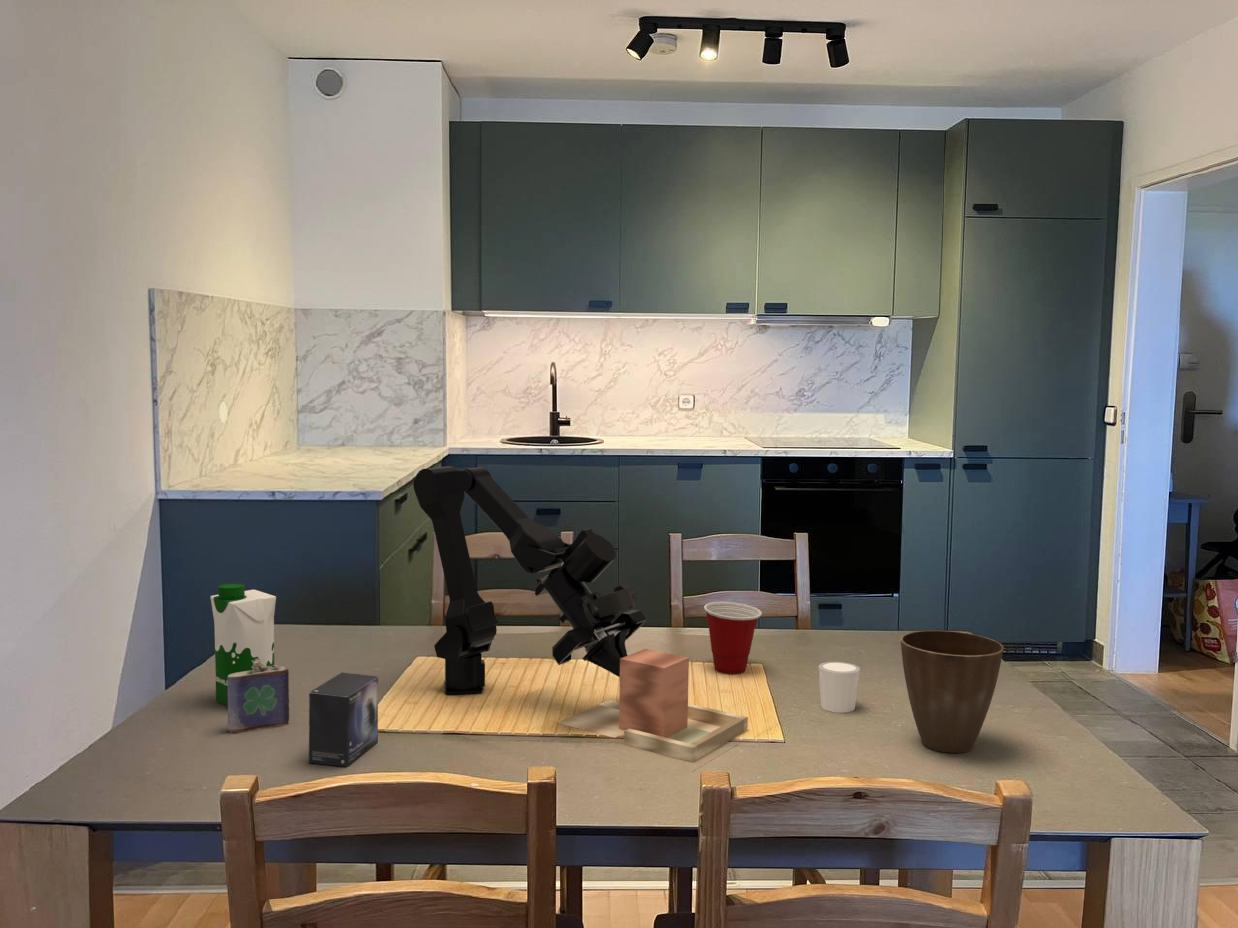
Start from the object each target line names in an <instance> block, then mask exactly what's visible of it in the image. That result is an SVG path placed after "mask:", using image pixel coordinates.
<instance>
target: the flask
mask: <svg viewBox="0 0 1238 928" xmlns="http://www.w3.org/2000/svg"><path fill="white" fill-rule="evenodd" d="M260 661H261V660H260V658H258V659H255V661H254V662H253V660H252V662H253V666H252V669H253V670H250V671H244V672H237V673H233V674H230V675H228V677H227V685H228V707H227V730H228V732H229V733H230V734H233V733H237V734H238V733H245V732H248V731H249V732H251V731H258V730H260V731H261V730H263V729H266V728H267V729H270V728H274V727H276V728H277V727H279V726H287V725H289V722H290V696H289V695H290V694H289V691H290V689H289V688H290V687H289V686H290V685H289V684H290V683H289V681H290V680H289V679H290V677H289V675H290V671H289V668H287V667H286V666H278V665H276V664H274V665H273V666H274V667H272V666H265V665H263V664H261V663H260ZM269 667H272V668H269Z"/></svg>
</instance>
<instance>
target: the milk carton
mask: <svg viewBox="0 0 1238 928" xmlns="http://www.w3.org/2000/svg"><path fill="white" fill-rule="evenodd" d="M276 600H277V596H275V595H272V594H269V593H266V592H263V591H260V590H258V589H249V590H245V584H244V583H240V582H228V583H223V584H220V585H219V586H218V594H215V595H210V604H211V610H212V615H213V622H214V657H215V659H214V661H215V663H214V664H215V665H214V666H215V702H217V703H219V704H222V705H223V706H225V707H227V708H228V685H227V677H228V675H230V674H233V673H237V672H244V671H250V670H253V669H252V666H253V662H254V661H255V659H258V658H260V660H261V661H260V663H261V664H263V665H265V666H272V667H274V666H273V665H275V620H274V619H275V617H274V616H275V610H276V602H277V601H276ZM252 660H253V662H252ZM272 667H269V668H272Z"/></svg>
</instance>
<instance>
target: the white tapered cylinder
mask: <svg viewBox="0 0 1238 928" xmlns="http://www.w3.org/2000/svg"><path fill="white" fill-rule="evenodd" d="M860 670H861V667H860V666H858V665H856V664H853V663H849V662H844V661H843V662H842V661H826V662H822V663H819V665H818V677H819V679H818V680H819V691H820V692H819V695H820V707H821V708H822V709H823V710H825V711H828V712H833V713H840V714H842V713H850V712H854V711H855V709H856V702H857V701H856V700H857V693H858V686H859V678H860Z"/></svg>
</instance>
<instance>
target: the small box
mask: <svg viewBox="0 0 1238 928" xmlns="http://www.w3.org/2000/svg"><path fill="white" fill-rule="evenodd" d="M308 727H309V728H308V762H307V763H310V764H319V765H320V764H321V765H329V766H337V767H349V765H351V764H352V763H354V762H355V761H356V760H357V759H359V758H360V757H362V755H364V754H365V753H366V752H368V751H369V750H370V749H372V748H373V746H375V745H376V744H378V742H379V677H378V676H375V675H366V674H357V673H350V672H340V673H339V674H337V675H335V676H334V677H332V678H331V679H329V680H327V681H325V682H324V683H322V684H320V685H318V686H317V687H315V688H314V689H312V690H311V691H309V692H308Z"/></svg>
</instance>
